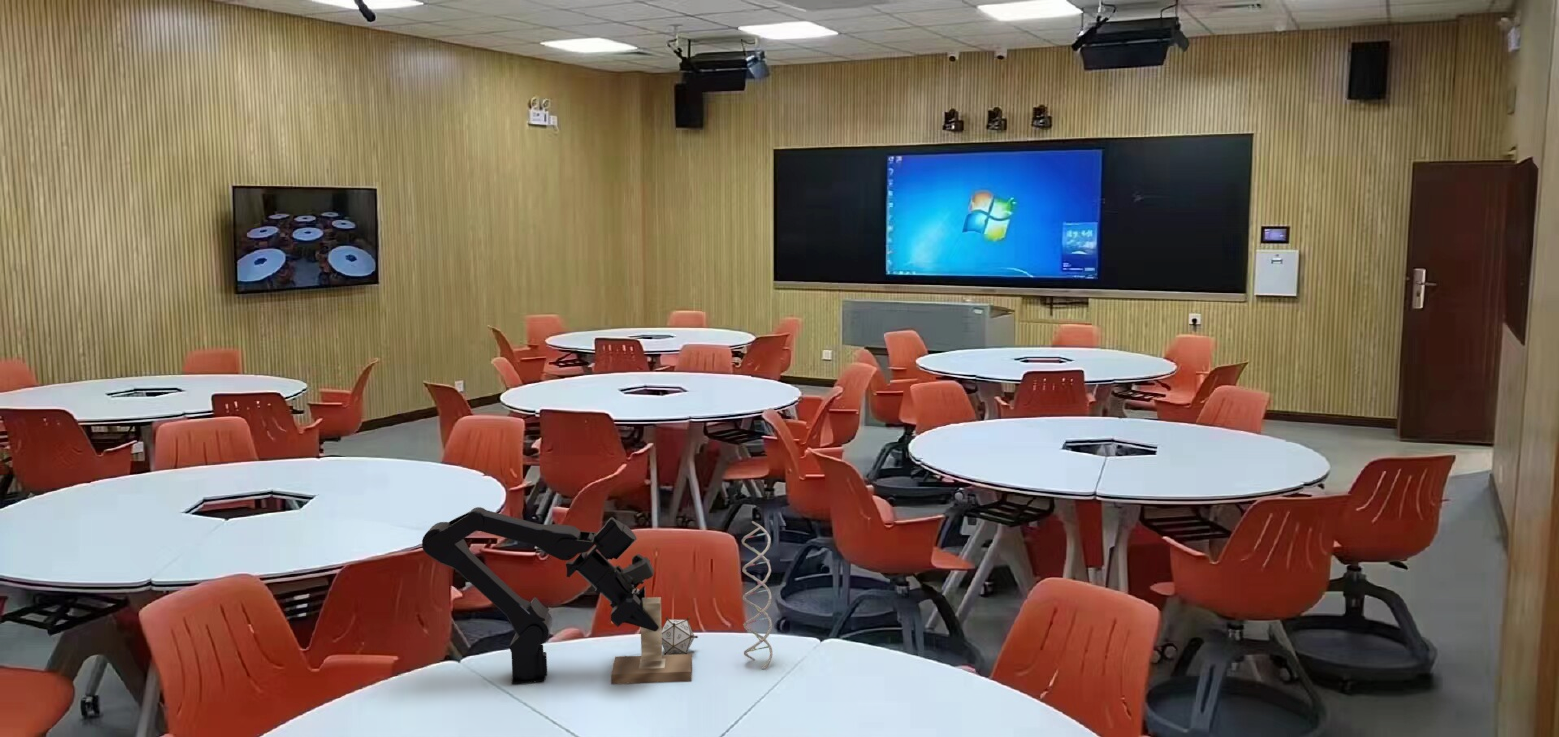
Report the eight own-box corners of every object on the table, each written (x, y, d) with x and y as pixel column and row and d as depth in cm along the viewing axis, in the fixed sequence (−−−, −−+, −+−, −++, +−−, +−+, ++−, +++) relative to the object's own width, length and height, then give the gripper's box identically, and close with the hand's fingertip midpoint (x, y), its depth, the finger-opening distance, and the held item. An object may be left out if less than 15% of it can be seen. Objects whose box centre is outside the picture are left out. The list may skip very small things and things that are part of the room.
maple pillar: (641, 661, 237) (640, 603, 235) (642, 654, 241) (641, 597, 239) (661, 660, 237) (660, 603, 236) (662, 653, 241) (660, 597, 240)
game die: (684, 668, 252) (709, 628, 254) (677, 668, 244) (703, 627, 245) (650, 645, 254) (676, 605, 255) (642, 644, 246) (668, 603, 247)
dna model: (739, 661, 245) (736, 521, 242) (768, 657, 247) (766, 519, 244) (747, 672, 239) (745, 529, 236) (777, 668, 241) (775, 526, 237)
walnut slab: (611, 683, 234) (611, 673, 234) (615, 665, 244) (615, 656, 243) (691, 680, 235) (691, 670, 234) (692, 663, 245) (691, 653, 244)
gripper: (626, 559, 227) (684, 612, 229) (632, 534, 245) (686, 584, 247) (586, 599, 227) (644, 652, 229) (596, 572, 246) (649, 621, 247)
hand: (657, 625), depth 238 cm, fingers closed on maple pillar, 4 cm apart
